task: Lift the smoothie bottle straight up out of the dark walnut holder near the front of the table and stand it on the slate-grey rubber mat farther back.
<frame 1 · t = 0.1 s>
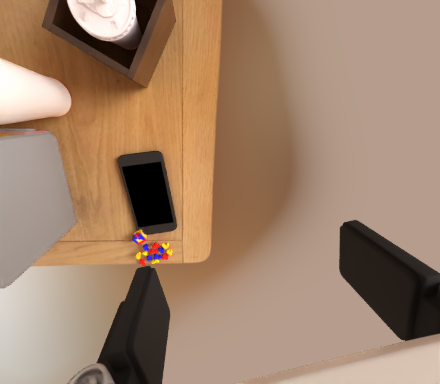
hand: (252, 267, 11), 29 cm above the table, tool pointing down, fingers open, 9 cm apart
building blocks: (149, 251, 40), point 2 cm above the table
drinking glass: (54, 98, 32), on the table
smoothie: (128, 34, 31), resting in holder
smartphone: (150, 194, 39), on the table
alarm clock: (12, 177, 35), on the table
holder: (127, 34, 31), on the table
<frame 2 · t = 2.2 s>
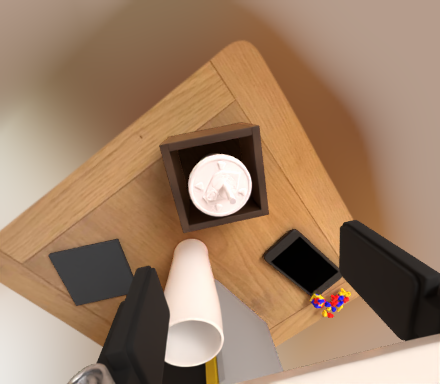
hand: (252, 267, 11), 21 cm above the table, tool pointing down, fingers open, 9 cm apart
building blocks: (332, 306, 40), point 2 cm above the table
drinking glass: (191, 250, 35), on the table
smoothie: (212, 165, 31), resting in holder
smartphone: (303, 263, 38), on the table
alarm clock: (198, 319, 40), on the table
holder: (212, 165, 30), on the table
mat: (97, 272, 34), on the table
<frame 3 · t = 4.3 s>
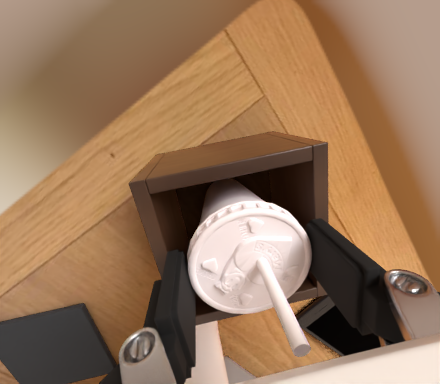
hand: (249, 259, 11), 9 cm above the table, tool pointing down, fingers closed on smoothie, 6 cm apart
drinking glass: (192, 314, 24), on the table
smoothie: (225, 196, 20), resting in holder, touching gripper
smartphone: (348, 325, 27), on the table
holder: (225, 197, 20), on the table
mat: (55, 347, 23), on the table
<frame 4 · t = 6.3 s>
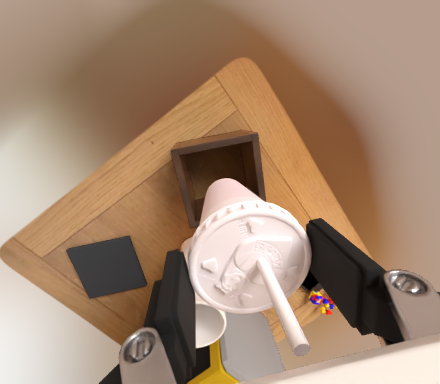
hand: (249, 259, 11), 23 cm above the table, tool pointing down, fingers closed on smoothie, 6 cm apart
building blocks: (330, 303, 42), point 2 cm above the table
drinking glass: (196, 247, 38), on the table
smoothie: (225, 196, 20), point 14 cm above the table, touching gripper
smartphone: (301, 261, 41), on the table
alarm clock: (202, 314, 42), on the table
holder: (216, 168, 33), on the table
mat: (109, 267, 37), on the table
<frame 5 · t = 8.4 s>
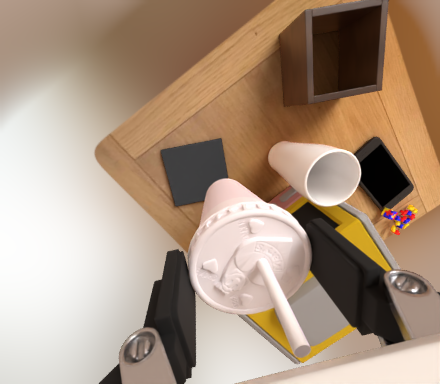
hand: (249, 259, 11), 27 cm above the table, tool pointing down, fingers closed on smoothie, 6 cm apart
building blocks: (402, 220, 43), point 2 cm above the table
drinking glass: (281, 155, 38), on the table
smoothie: (225, 197, 20), point 18 cm above the table, touching gripper
smartphone: (377, 176, 41), on the table
alarm clock: (277, 231, 43), on the table
holder: (312, 66, 34), on the table
mat: (197, 173, 37), on the table
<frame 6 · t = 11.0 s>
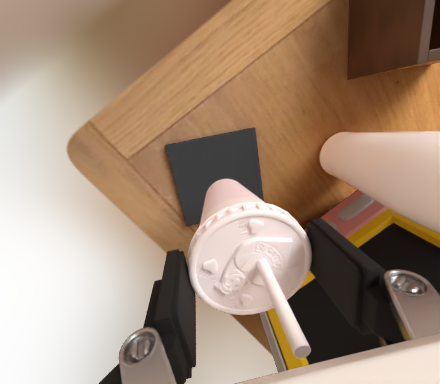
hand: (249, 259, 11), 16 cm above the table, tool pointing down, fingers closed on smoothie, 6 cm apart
drinking glass: (337, 153, 27), on the table
smoothie: (225, 197, 20), point 6 cm above the table, touching gripper
alarm clock: (323, 256, 32), on the table
holder: (394, 17, 22), on the table
mat: (218, 178, 26), on the table
when the fingers open (10 cm above the table, at t = 12.9 s): smoothie stays where it is, resting on mat.
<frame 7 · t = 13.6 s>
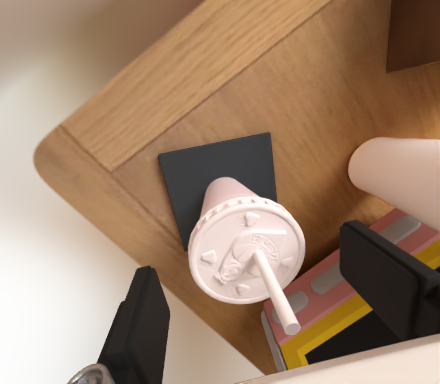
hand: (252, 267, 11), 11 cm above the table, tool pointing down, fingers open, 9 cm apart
drinking glass: (368, 163, 22), on the table
smoothie: (224, 195, 21), resting on mat
alarm clock: (346, 283, 27), on the table
mat: (223, 194, 21), on the table
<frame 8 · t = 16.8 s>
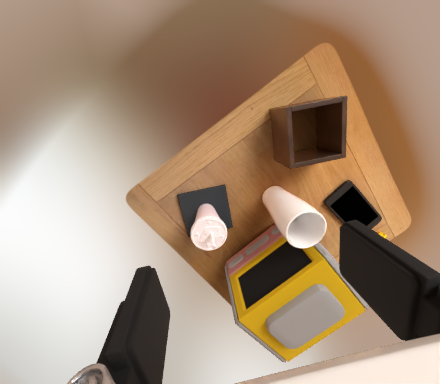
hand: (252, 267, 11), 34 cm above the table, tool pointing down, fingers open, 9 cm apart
drinking glass: (273, 196, 48), on the table
smoothie: (206, 211, 46), resting on mat
smartphone: (352, 209, 51), on the table
alarm clock: (270, 254, 53), on the table
holder: (296, 130, 43), on the table
mat: (206, 210, 47), on the table
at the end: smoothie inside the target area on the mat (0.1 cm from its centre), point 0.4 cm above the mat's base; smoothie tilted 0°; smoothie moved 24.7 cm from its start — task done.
